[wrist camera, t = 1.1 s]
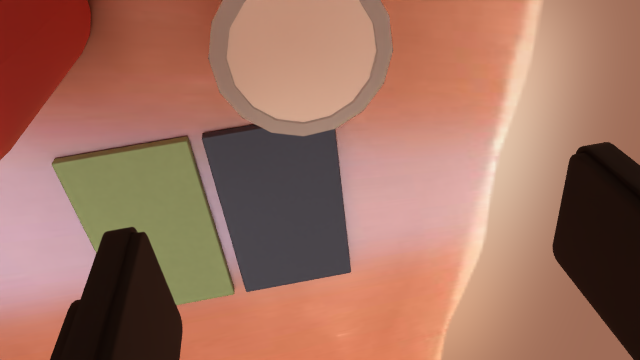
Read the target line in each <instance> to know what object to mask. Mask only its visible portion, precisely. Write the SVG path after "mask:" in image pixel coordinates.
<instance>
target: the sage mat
mask: <svg viewBox="0 0 640 360" xmlns="http://www.w3.org/2000/svg"><path fill="white" fill-rule="evenodd" d="M52 166H53V168H54V170H55V172H56V174H57V176H58V178H59V180H60V182H61V184H62V186H63V188H64V190H65V192H66V194H67V196H68V198H69V200H70V202H71V204H72V206H73V208H74V210H75V212H76V214H77V216H78V218H79V220H80V222H81V224H82V226H83V228H84V230H85V232H86V234H87V236H88V238H89V240H90V242H91V244H92V245H93V247H94V249H95V251H96V253H97V251H98V248H99V245H100V242H101V239H102V236H103V234H104V233H105V232H106V231H111V230H117V229H122V228H128V227H134V228H135V229H136V230H137V232H138V233H139V232H145V233H146V234H147V236H148V238H149V241H150V243H151V246H152V248H153V250H154V253H155V255H156V258H157V260H158V263H159V265H160V267H161V270H162V272H163V275H164V277H165V280H166V282H167V284H168V287H169V289H170V292H171V294H172V297H173V299H174V301H175V304H176V305H180V304H185V303H190V302H196V301H201V300H206V299H212V298H217V297H222V296H228V295H233V294H234V286H233V282H232V279H231V276H230V273H229V269H228V266H227V263H226V260H225V256H224V253H223V250H222V247H221V243H220V240H219V237H218V233H217V230H216V227H215V224H214V220H213V217H212V214H211V211H210V207H209V204H208V201H207V198H206V194H205V191H204V188H203V185H202V181H201V178H200V175H199V172H198V168H197V165H196V162H195V159H194V155H193V152H192V149H191V145H190V142H189V139H188V137H187V136H186V137H180V138H174V139H168V140H162V141H156V142H150V143H145V144H139V145H133V146H127V147H121V148H115V149H109V150H104V151H98V152H92V153H86V154H80V155H74V156H68V157H62V158H57V159H54V161H53V163H52Z"/></svg>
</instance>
